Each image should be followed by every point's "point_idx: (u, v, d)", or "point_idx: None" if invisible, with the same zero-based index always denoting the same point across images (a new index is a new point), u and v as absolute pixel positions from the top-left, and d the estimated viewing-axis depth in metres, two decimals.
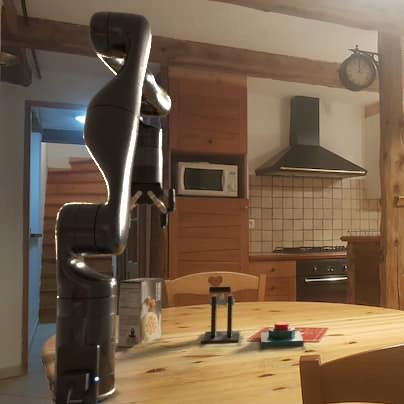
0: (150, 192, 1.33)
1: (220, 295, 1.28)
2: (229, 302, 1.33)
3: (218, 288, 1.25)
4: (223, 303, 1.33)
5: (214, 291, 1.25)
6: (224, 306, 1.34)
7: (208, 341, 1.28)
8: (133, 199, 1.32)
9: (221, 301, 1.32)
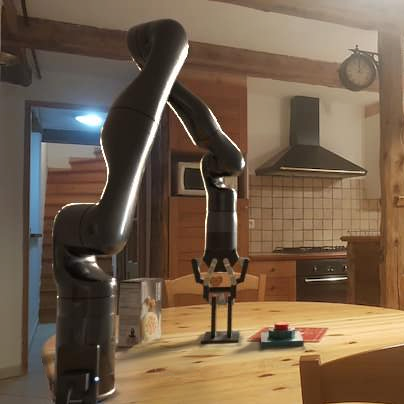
0: (226, 260, 1.25)
1: (220, 295, 1.28)
2: (229, 302, 1.33)
3: (218, 288, 1.25)
4: (223, 303, 1.33)
5: (214, 291, 1.25)
6: (224, 306, 1.34)
7: (208, 341, 1.28)
8: (208, 267, 1.24)
9: (221, 301, 1.32)
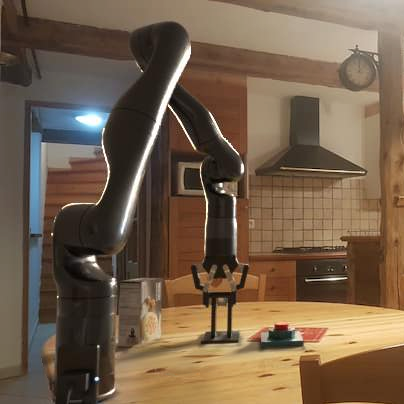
0: (226, 266, 1.24)
1: (220, 299, 1.28)
2: (229, 302, 1.33)
3: (217, 294, 1.25)
4: (223, 304, 1.33)
5: (214, 297, 1.24)
6: (224, 306, 1.34)
7: (208, 341, 1.28)
8: (208, 274, 1.23)
9: (221, 302, 1.32)
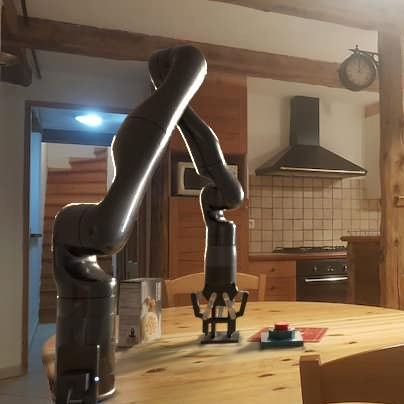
0: (225, 294, 1.24)
1: None
2: None
3: (217, 321, 1.24)
4: (223, 307, 1.33)
5: (213, 323, 1.24)
6: None
7: (208, 341, 1.28)
8: None
9: None
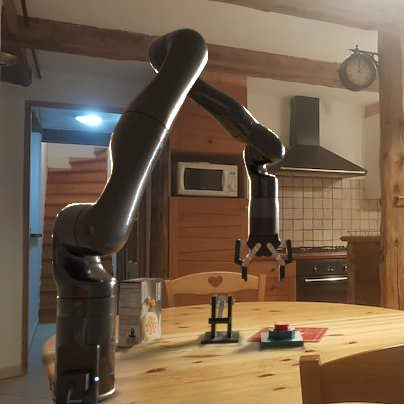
0: (269, 244, 1.29)
1: None
2: (229, 302, 1.33)
3: (217, 321, 1.24)
4: (223, 307, 1.33)
5: (213, 323, 1.24)
6: None
7: (208, 341, 1.28)
8: (252, 252, 1.28)
9: None
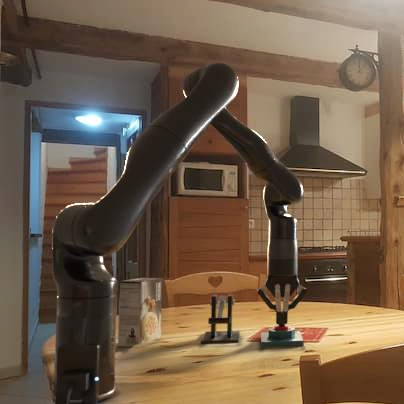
0: (288, 286, 1.29)
1: None
2: (229, 302, 1.33)
3: (217, 321, 1.24)
4: (223, 307, 1.33)
5: (213, 323, 1.24)
6: None
7: (208, 341, 1.28)
8: (271, 293, 1.29)
9: None
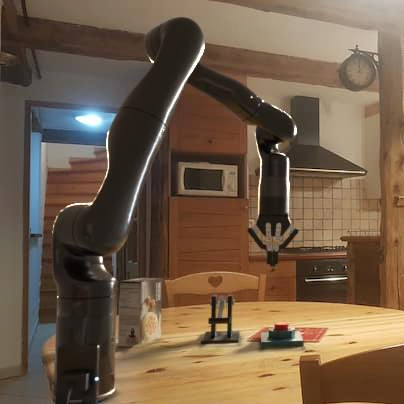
0: (279, 225, 1.26)
1: None
2: (229, 302, 1.33)
3: (217, 321, 1.24)
4: (223, 307, 1.33)
5: (213, 323, 1.24)
6: None
7: (208, 341, 1.28)
8: (261, 232, 1.25)
9: None
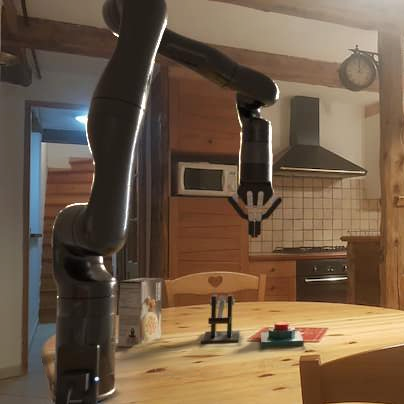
0: (261, 193, 1.19)
1: None
2: (229, 302, 1.33)
3: (217, 321, 1.24)
4: (223, 307, 1.33)
5: (213, 323, 1.24)
6: None
7: (208, 341, 1.28)
8: (242, 200, 1.19)
9: None
